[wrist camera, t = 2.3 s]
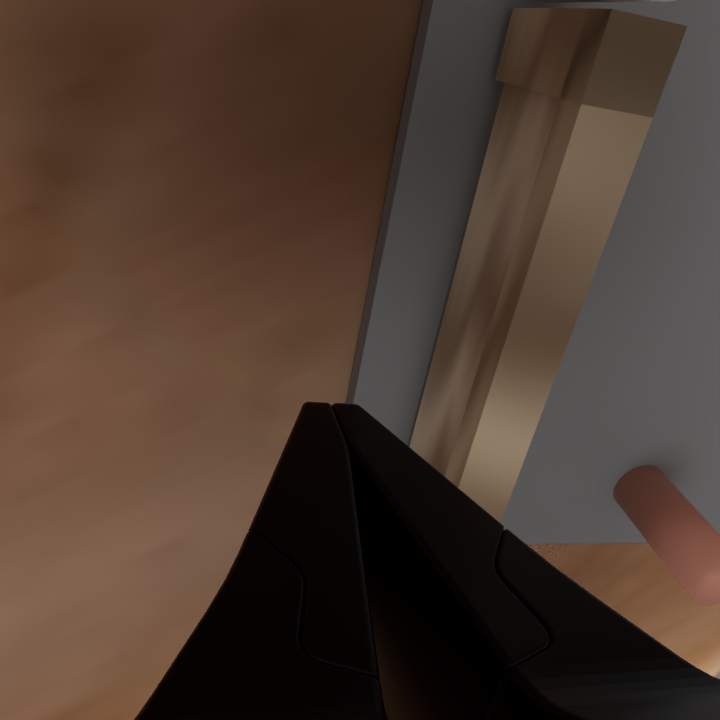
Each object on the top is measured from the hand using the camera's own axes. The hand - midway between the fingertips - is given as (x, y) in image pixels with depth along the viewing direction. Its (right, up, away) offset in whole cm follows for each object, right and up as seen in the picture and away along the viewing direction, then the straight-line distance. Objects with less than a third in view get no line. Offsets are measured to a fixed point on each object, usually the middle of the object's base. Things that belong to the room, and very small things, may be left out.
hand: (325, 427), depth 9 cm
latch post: (+13, -4, +19) cm, 24 cm away
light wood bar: (+4, +3, +11) cm, 12 cm away
